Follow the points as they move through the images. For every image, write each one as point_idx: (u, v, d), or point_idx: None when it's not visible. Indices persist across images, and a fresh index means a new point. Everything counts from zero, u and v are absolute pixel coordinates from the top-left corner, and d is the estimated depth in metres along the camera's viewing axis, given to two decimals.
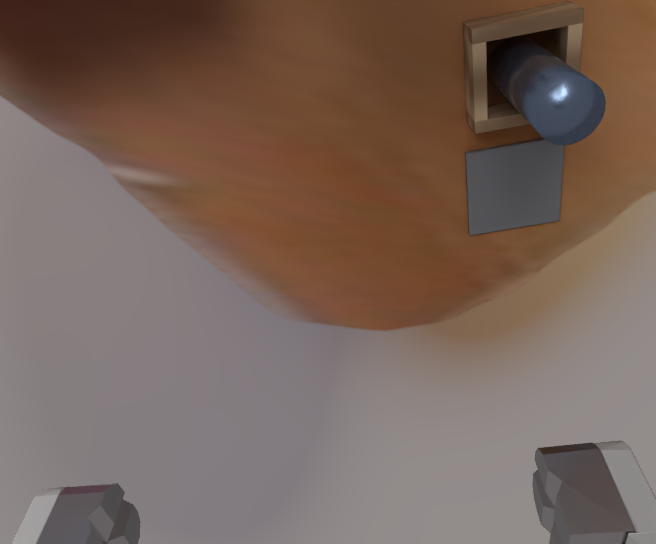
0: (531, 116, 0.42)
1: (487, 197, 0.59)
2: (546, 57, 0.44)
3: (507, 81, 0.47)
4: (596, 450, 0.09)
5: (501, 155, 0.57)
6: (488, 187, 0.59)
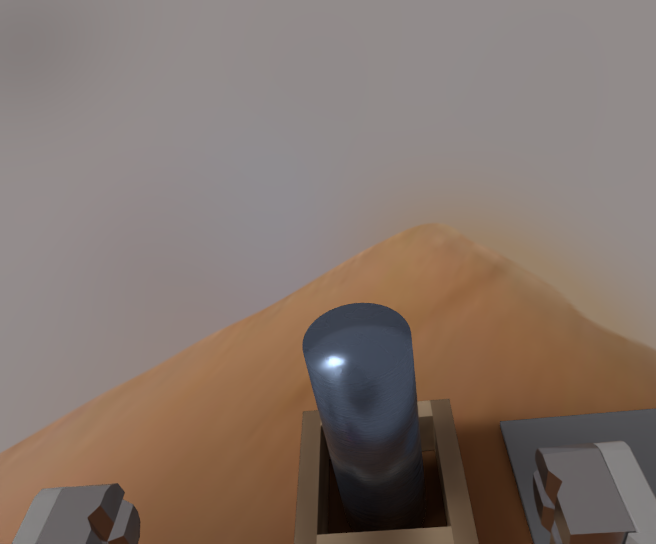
0: (365, 397, 0.24)
1: None
2: None
3: (364, 483, 0.28)
4: (596, 451, 0.09)
5: None
6: None
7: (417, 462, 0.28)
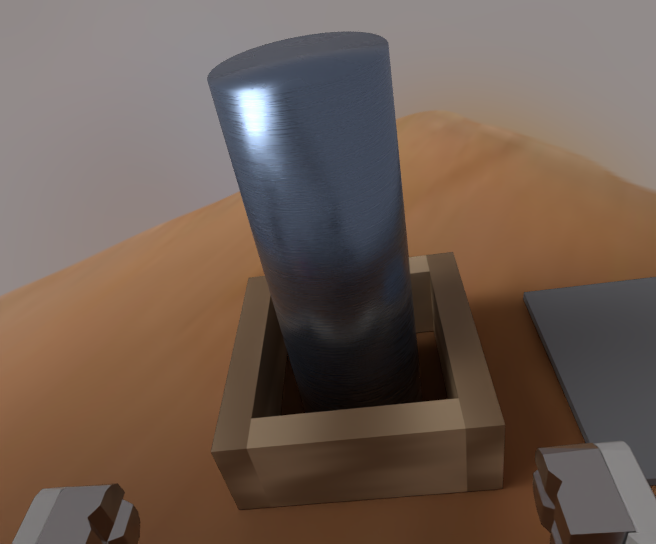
0: (307, 132, 0.14)
1: None
2: None
3: (322, 329, 0.18)
4: (596, 451, 0.09)
5: (594, 394, 0.21)
6: None
7: (405, 303, 0.18)
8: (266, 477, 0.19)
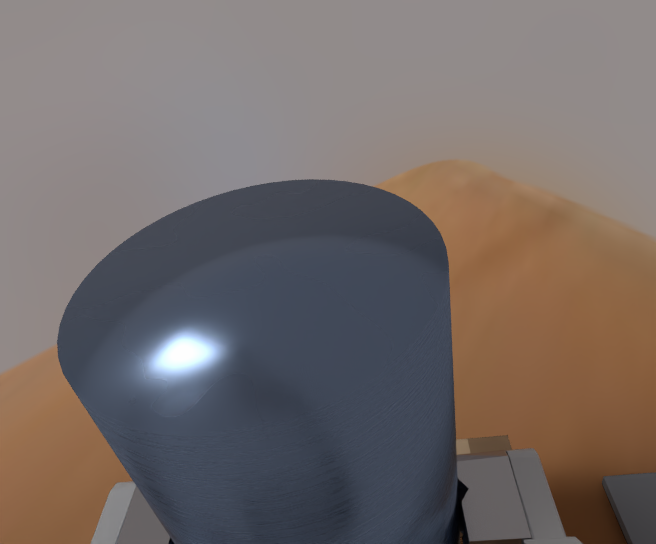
0: (266, 495, 0.06)
1: None
2: None
3: None
4: (505, 458, 0.09)
5: None
6: None
7: None
8: None
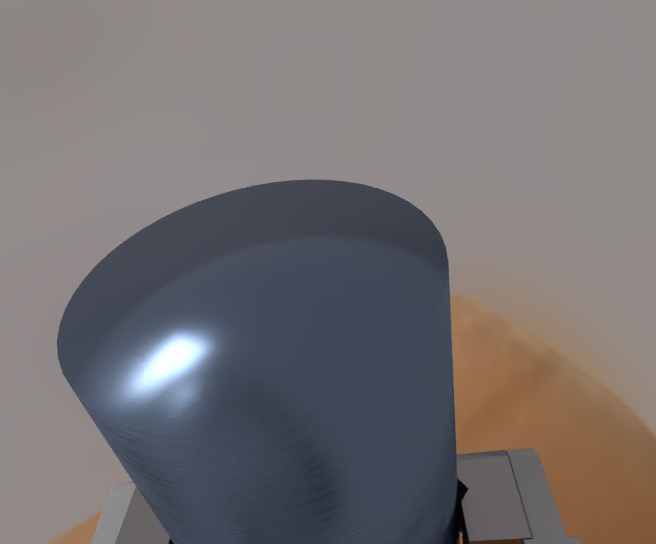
0: (266, 495, 0.06)
1: None
2: None
3: None
4: (505, 458, 0.09)
5: None
6: None
7: None
8: None
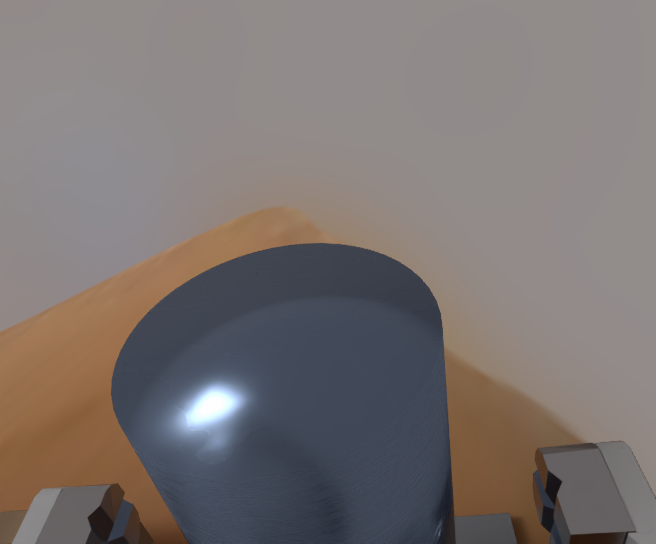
0: (290, 528, 0.07)
1: None
2: None
3: None
4: (596, 451, 0.09)
5: None
6: None
7: None
8: None
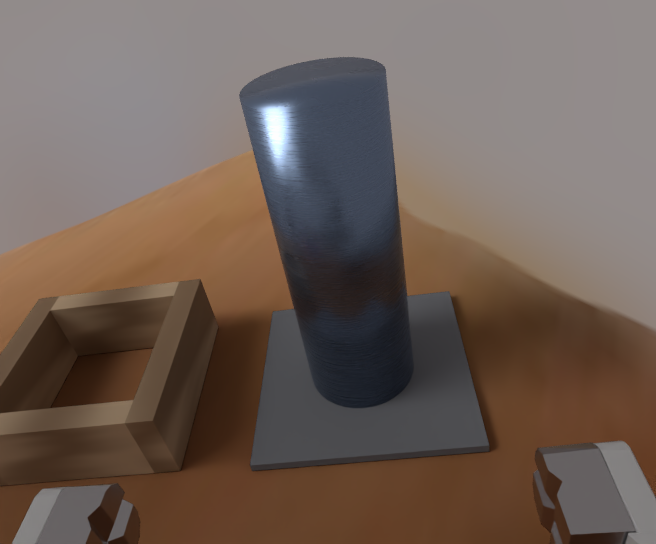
0: (320, 141, 0.17)
1: (376, 413, 0.24)
2: None
3: (329, 304, 0.21)
4: (596, 451, 0.09)
5: (278, 397, 0.26)
6: (349, 414, 0.24)
7: (398, 283, 0.22)
8: None
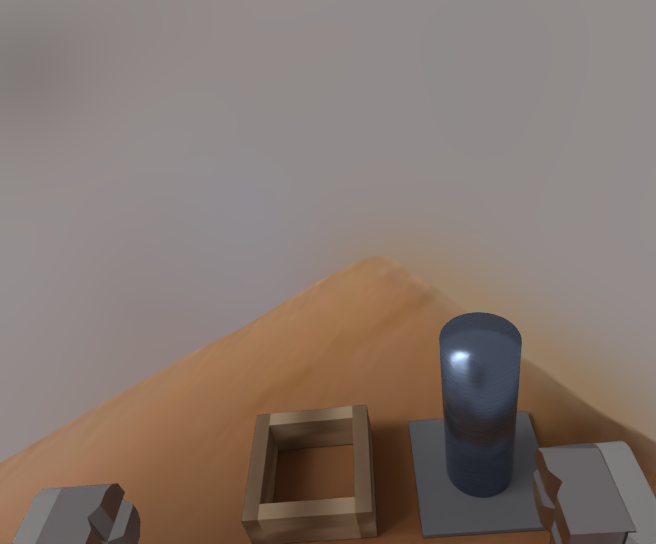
0: (491, 380, 0.33)
1: (494, 502, 0.40)
2: None
3: (477, 447, 0.37)
4: (596, 451, 0.09)
5: (429, 488, 0.42)
6: (477, 502, 0.40)
7: (514, 432, 0.38)
8: (266, 531, 0.40)
